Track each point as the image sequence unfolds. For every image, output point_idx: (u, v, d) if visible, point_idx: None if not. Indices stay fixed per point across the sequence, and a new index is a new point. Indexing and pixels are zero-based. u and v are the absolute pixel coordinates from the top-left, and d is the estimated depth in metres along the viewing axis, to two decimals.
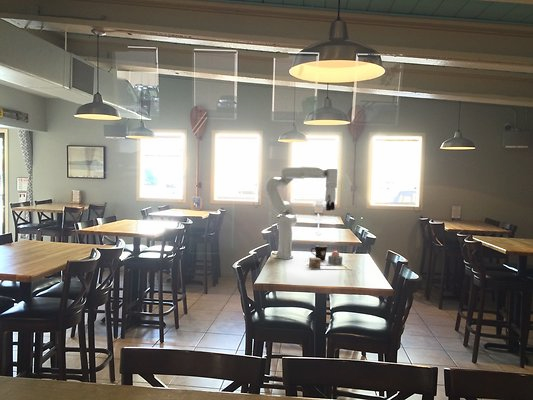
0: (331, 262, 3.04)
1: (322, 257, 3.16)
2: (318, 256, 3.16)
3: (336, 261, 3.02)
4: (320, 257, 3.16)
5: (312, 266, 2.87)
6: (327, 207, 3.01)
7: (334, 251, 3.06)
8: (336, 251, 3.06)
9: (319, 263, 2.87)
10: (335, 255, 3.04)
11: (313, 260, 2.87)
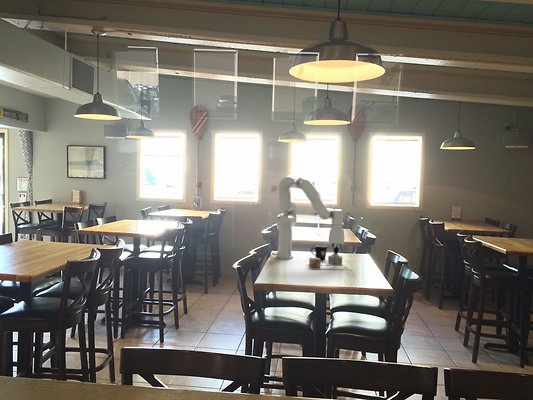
0: (331, 262, 3.04)
1: (322, 257, 3.16)
2: (318, 256, 3.16)
3: (336, 261, 3.02)
4: (320, 257, 3.16)
5: (312, 266, 2.87)
6: None
7: (334, 253, 3.06)
8: (336, 253, 3.06)
9: (319, 263, 2.87)
10: None
11: (313, 260, 2.87)
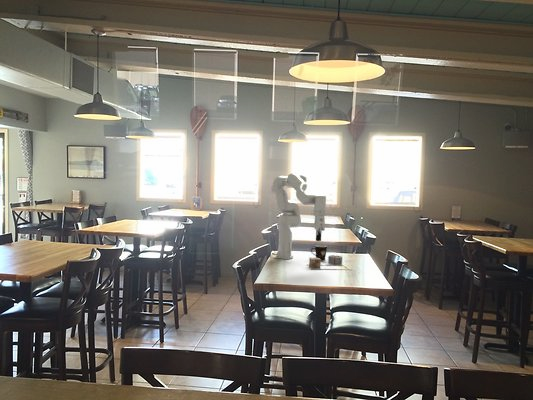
0: (331, 262, 3.04)
1: (322, 257, 3.16)
2: (318, 256, 3.16)
3: (336, 261, 3.02)
4: (320, 257, 3.16)
5: (312, 266, 2.87)
6: None
7: (334, 255, 3.06)
8: (336, 255, 3.06)
9: (319, 263, 2.87)
10: None
11: (313, 260, 2.87)
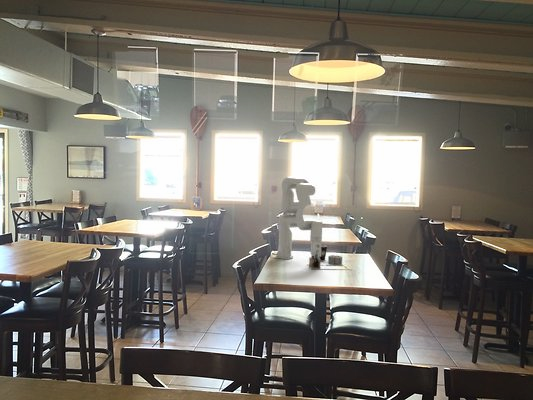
0: (331, 262, 3.04)
1: (322, 257, 3.16)
2: None
3: (336, 261, 3.02)
4: (320, 257, 3.16)
5: (312, 266, 2.87)
6: None
7: (334, 255, 3.06)
8: (336, 255, 3.06)
9: (319, 263, 2.88)
10: None
11: (313, 260, 2.87)
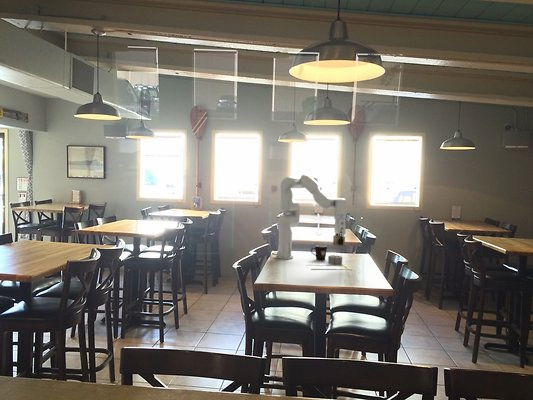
0: (331, 262, 3.04)
1: (322, 257, 3.16)
2: (318, 256, 3.16)
3: (336, 261, 3.02)
4: (320, 257, 3.16)
5: (336, 243, 2.89)
6: None
7: (334, 255, 3.06)
8: (336, 255, 3.06)
9: (343, 240, 2.89)
10: None
11: (337, 237, 2.89)
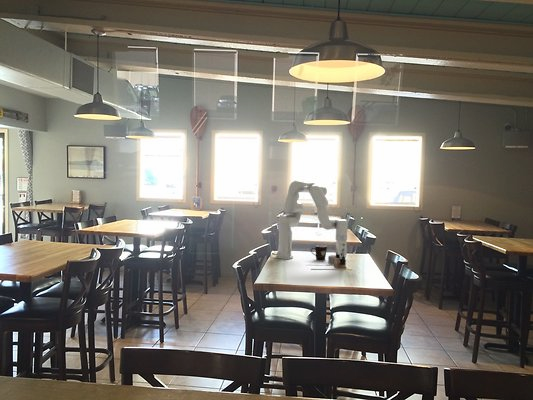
0: (331, 262, 3.04)
1: (322, 257, 3.16)
2: (318, 256, 3.16)
3: None
4: (320, 257, 3.16)
5: (337, 266, 2.90)
6: None
7: (334, 255, 3.06)
8: None
9: None
10: None
11: (338, 260, 2.90)
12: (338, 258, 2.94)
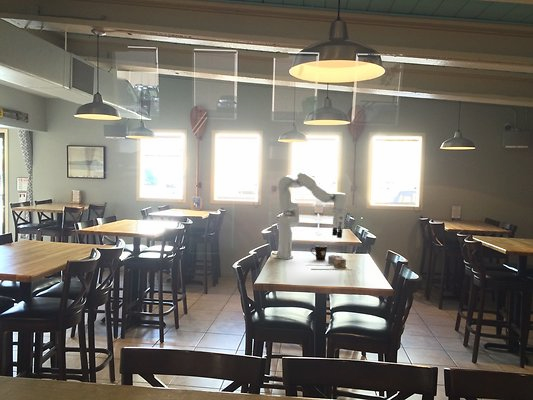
0: (331, 262, 3.04)
1: (322, 257, 3.16)
2: (318, 256, 3.16)
3: None
4: (320, 257, 3.16)
5: (337, 266, 2.90)
6: None
7: (334, 255, 3.06)
8: (336, 255, 3.06)
9: (344, 263, 2.91)
10: None
11: (338, 260, 2.90)
12: (338, 258, 2.94)
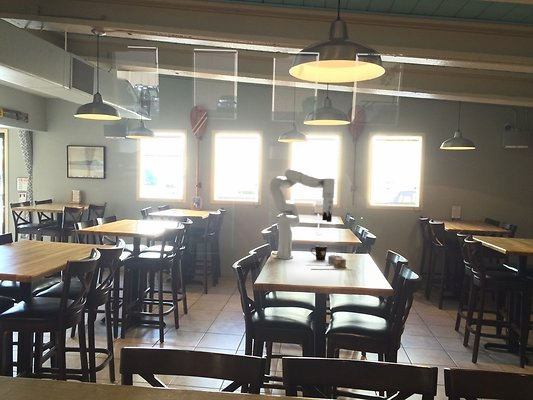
0: (331, 262, 3.04)
1: (322, 257, 3.16)
2: (318, 256, 3.16)
3: None
4: (320, 257, 3.16)
5: (337, 266, 2.90)
6: None
7: (334, 255, 3.06)
8: (336, 255, 3.06)
9: (344, 263, 2.91)
10: None
11: (338, 260, 2.90)
12: (338, 258, 2.94)
